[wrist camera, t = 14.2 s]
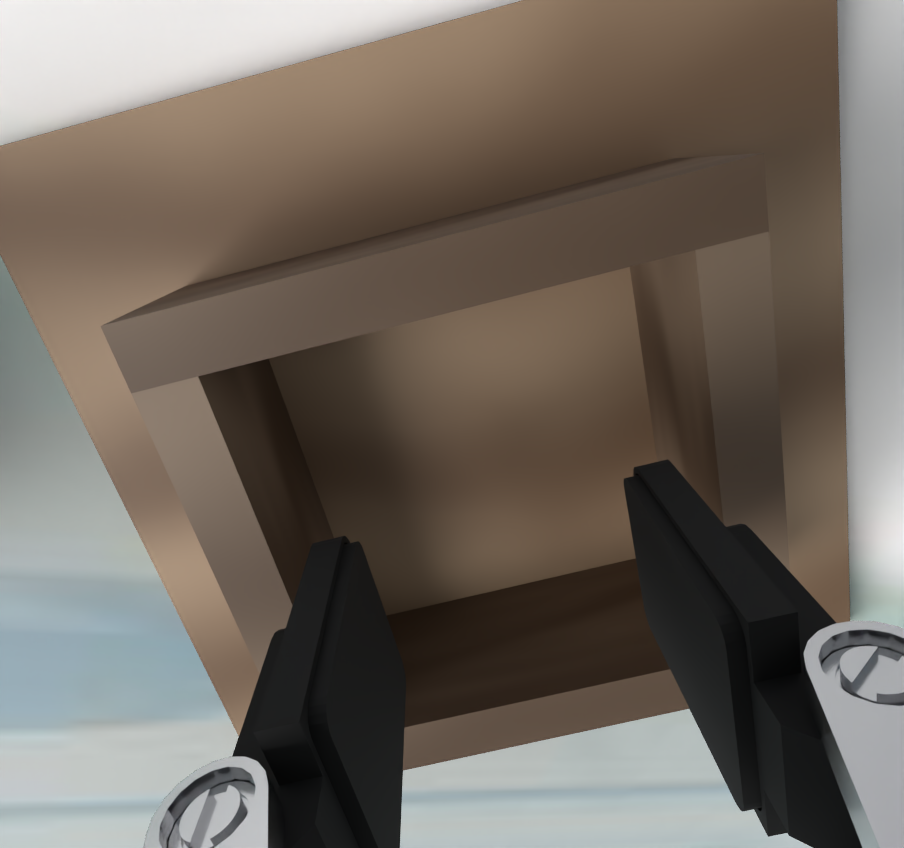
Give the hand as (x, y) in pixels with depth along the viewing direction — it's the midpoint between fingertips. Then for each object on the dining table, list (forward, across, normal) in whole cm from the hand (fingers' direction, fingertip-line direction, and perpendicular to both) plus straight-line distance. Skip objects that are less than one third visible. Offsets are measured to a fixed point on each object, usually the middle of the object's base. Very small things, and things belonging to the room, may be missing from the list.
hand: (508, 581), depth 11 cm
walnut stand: (+7, 0, 0) cm, 7 cm away
